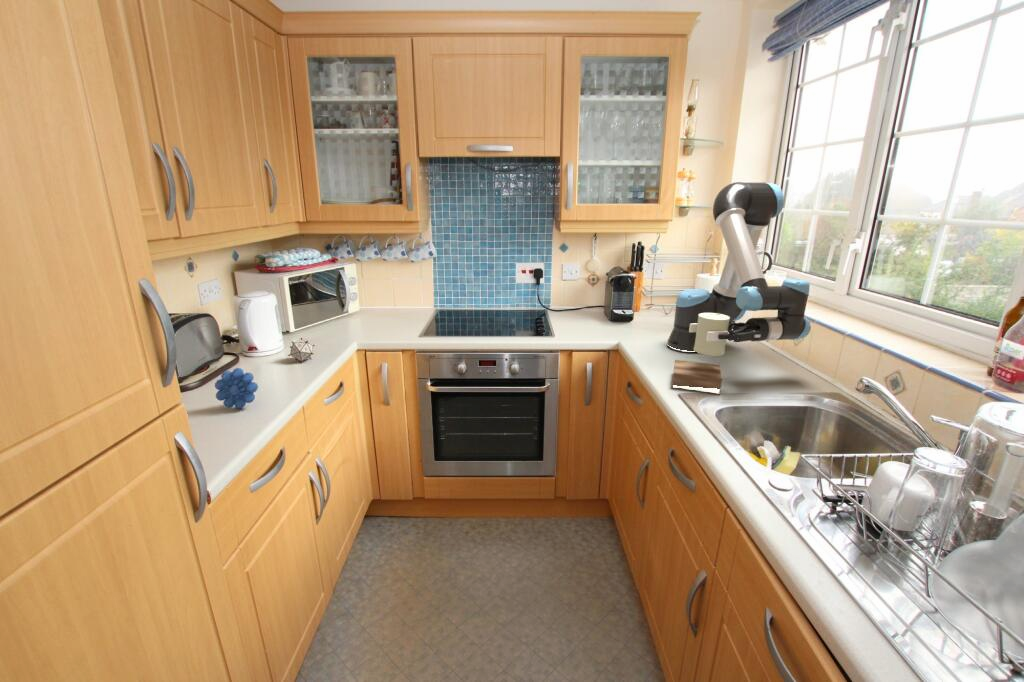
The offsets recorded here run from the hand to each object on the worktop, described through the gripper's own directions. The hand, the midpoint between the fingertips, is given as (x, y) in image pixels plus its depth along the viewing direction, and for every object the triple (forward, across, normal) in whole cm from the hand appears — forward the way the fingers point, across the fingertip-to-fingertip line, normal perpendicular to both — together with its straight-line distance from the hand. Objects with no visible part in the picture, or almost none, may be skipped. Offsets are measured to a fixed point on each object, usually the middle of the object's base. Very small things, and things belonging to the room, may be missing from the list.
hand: (698, 332), depth 146 cm
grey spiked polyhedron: (+127, +44, -18) cm, 136 cm away
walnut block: (-2, +1, -18) cm, 18 cm away
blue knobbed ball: (+135, +6, -18) cm, 137 cm away
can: (-5, 0, -7) cm, 8 cm away
